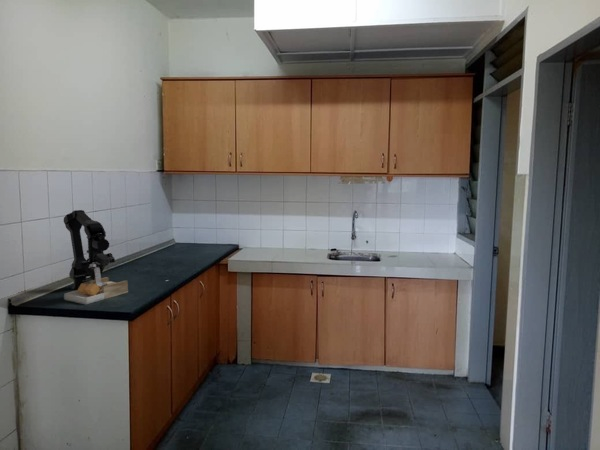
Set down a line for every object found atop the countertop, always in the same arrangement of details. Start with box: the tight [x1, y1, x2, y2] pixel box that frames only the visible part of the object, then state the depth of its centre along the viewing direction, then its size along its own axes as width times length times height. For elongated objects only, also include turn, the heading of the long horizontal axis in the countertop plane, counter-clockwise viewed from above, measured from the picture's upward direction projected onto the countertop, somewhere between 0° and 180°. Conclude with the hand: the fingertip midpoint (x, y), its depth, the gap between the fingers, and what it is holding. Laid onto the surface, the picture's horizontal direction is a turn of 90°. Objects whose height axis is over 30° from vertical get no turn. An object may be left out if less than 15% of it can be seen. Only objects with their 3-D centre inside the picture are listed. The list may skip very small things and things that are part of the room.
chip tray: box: [63, 290, 105, 306], centre depth 208 cm, size 16×10×3 cm, turn 62°
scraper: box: [87, 266, 108, 290], centre depth 213 cm, size 10×4×10 cm, turn 62°
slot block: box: [83, 276, 129, 300], centre depth 218 cm, size 16×14×6 cm
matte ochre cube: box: [77, 283, 89, 295], centre depth 211 cm, size 4×4×4 cm
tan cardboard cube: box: [85, 283, 100, 295], centre depth 209 cm, size 4×4×4 cm
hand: (96, 279), depth 213 cm, fingers closed on scraper, 3 cm apart
